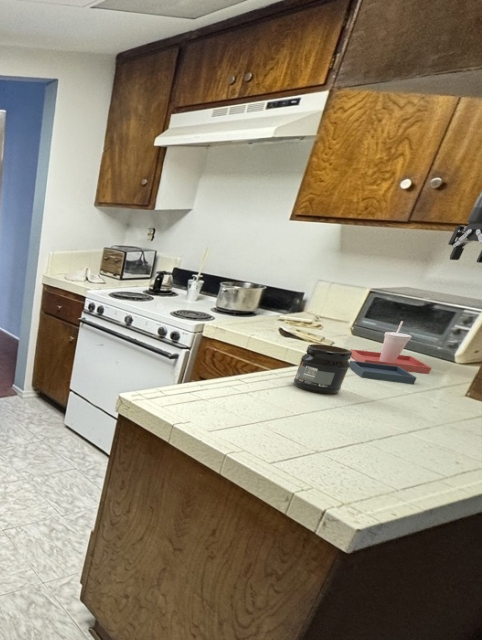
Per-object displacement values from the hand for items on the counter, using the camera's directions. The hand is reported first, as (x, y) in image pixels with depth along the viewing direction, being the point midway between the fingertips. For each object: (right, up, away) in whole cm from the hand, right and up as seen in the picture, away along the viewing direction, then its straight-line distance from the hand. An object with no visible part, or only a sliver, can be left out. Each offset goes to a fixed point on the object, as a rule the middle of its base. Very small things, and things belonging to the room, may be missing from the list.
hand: (467, 261), depth 148 cm
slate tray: (-28, -36, 0) cm, 45 cm away
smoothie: (-13, -31, +12) cm, 36 cm away
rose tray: (-14, -32, +11) cm, 36 cm away
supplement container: (-59, -41, -12) cm, 73 cm away
